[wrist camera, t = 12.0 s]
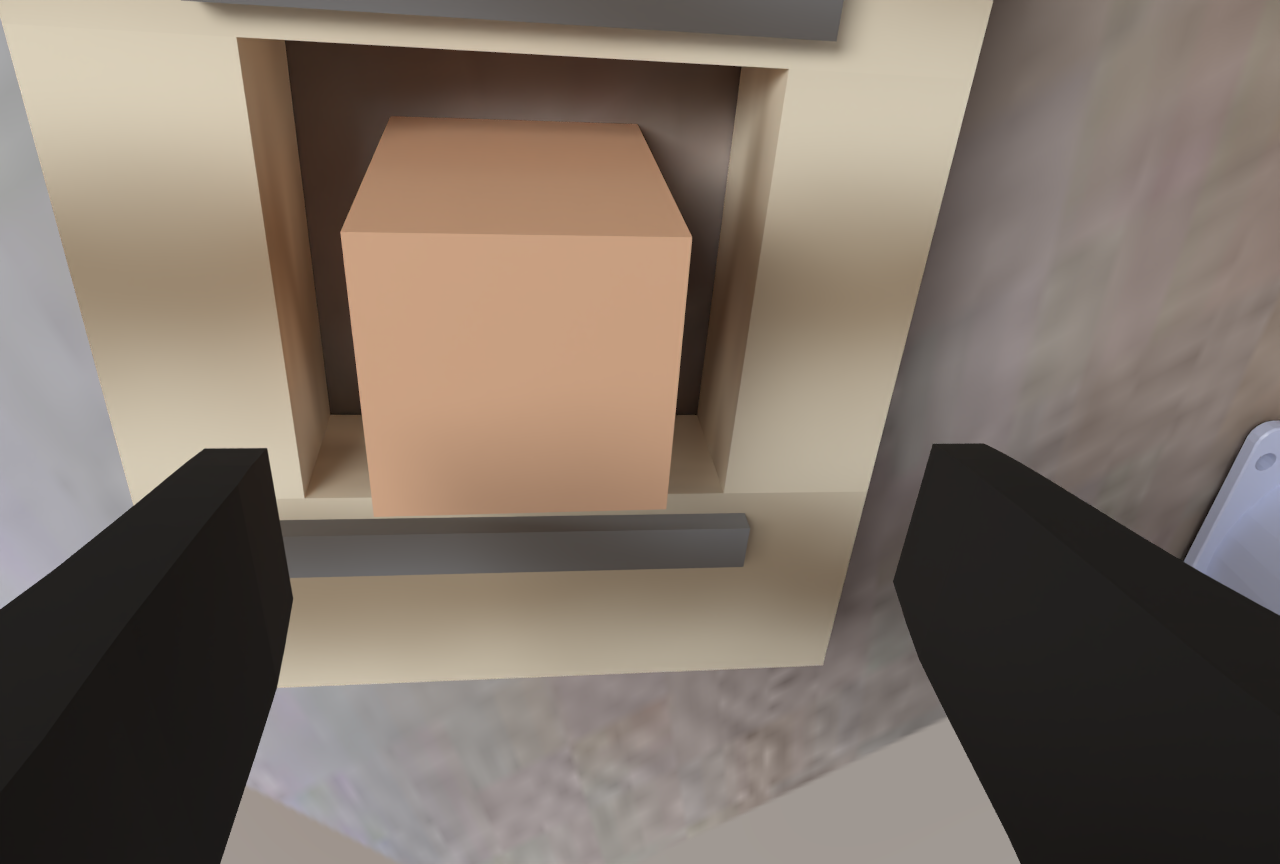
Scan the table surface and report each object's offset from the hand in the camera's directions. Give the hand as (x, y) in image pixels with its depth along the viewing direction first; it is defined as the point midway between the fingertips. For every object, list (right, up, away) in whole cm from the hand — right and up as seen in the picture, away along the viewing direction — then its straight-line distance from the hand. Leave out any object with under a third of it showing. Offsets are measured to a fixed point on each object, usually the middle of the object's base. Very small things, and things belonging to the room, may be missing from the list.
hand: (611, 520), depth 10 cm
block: (-2, +5, +8) cm, 9 cm away
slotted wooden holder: (-2, +5, +8) cm, 9 cm away
